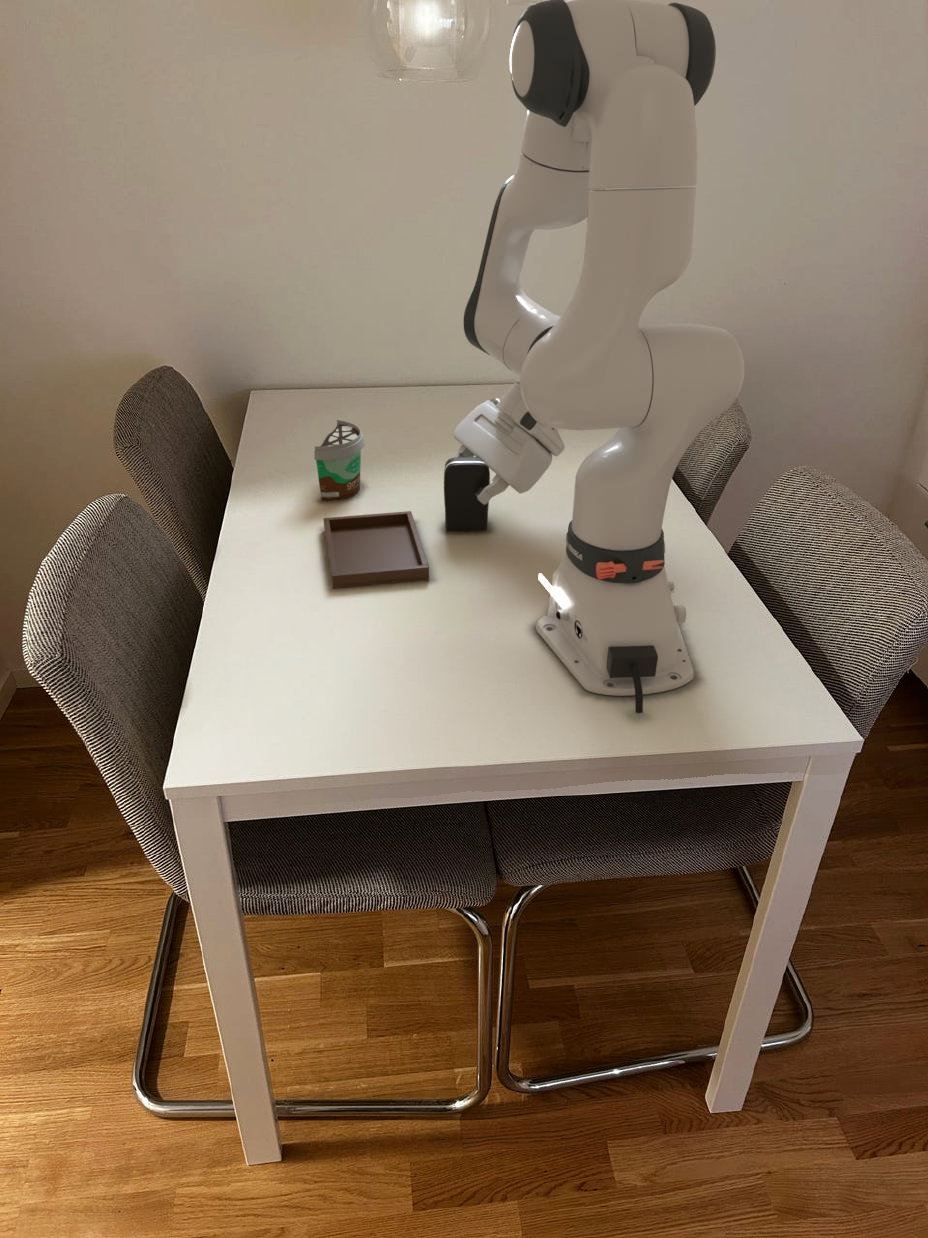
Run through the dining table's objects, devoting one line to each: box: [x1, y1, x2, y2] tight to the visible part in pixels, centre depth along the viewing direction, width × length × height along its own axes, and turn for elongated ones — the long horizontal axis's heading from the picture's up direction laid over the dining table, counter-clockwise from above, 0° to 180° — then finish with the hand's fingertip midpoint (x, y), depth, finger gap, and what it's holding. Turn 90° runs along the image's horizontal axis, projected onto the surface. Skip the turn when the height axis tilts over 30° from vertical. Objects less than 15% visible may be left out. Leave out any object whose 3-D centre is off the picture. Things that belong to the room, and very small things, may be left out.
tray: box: [323, 510, 430, 590], centre depth 139 cm, size 18×14×2 cm
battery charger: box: [443, 456, 491, 532], centre depth 144 cm, size 7×4×11 cm, turn 93°
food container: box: [314, 419, 366, 502], centre depth 154 cm, size 12×6×10 cm, turn 168°
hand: (465, 487), depth 143 cm, fingers open, 8 cm apart
